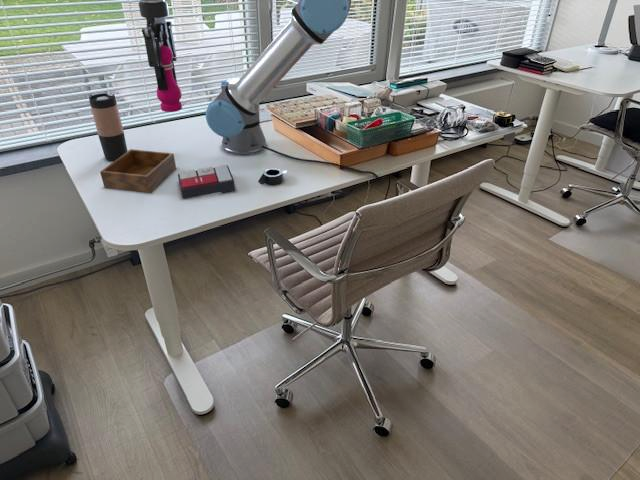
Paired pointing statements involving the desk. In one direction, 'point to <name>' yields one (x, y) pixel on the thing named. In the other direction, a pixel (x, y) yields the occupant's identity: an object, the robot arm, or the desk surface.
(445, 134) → the desk surface
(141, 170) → the wooden box
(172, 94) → the pepper mill
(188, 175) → the black red grey box
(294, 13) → the robot arm
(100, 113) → the travel mug
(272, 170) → the duct tape
